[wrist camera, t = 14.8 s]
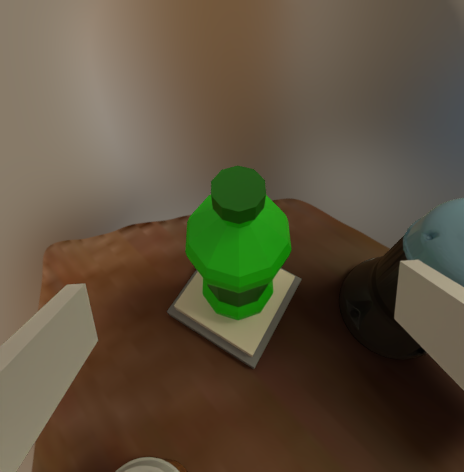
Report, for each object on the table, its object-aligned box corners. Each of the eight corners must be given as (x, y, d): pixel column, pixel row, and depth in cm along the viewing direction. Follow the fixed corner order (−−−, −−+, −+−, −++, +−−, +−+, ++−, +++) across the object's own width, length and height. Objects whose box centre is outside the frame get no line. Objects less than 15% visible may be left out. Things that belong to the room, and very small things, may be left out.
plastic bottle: (231, 343, 42) (225, 277, 20) (189, 284, 46) (145, 175, 24) (287, 299, 45) (336, 200, 23) (242, 247, 49) (247, 120, 27)
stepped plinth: (299, 283, 50) (304, 274, 47) (253, 369, 44) (255, 366, 41) (220, 241, 54) (219, 229, 50) (169, 315, 48) (163, 308, 44)
